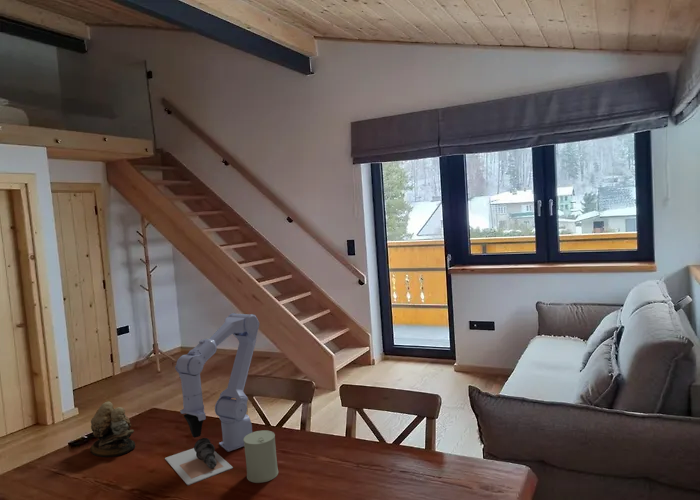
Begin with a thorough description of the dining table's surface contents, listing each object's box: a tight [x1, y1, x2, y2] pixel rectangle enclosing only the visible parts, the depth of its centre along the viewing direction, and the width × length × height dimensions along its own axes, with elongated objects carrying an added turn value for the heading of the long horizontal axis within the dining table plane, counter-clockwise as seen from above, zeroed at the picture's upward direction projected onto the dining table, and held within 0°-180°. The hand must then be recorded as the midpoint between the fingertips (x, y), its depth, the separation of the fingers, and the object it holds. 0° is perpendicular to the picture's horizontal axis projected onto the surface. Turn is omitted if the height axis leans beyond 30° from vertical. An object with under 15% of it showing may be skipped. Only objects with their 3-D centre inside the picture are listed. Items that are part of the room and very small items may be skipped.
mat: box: [164, 447, 234, 486], centre depth 162 cm, size 14×22×1 cm, turn 36°
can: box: [243, 429, 279, 484], centre depth 151 cm, size 9×9×12 cm
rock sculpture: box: [89, 401, 136, 458], centre depth 177 cm, size 18×12×17 cm, turn 67°
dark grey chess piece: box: [193, 437, 217, 469], centre depth 160 cm, size 6×6×12 cm
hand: (196, 436), depth 160 cm, fingers closed
